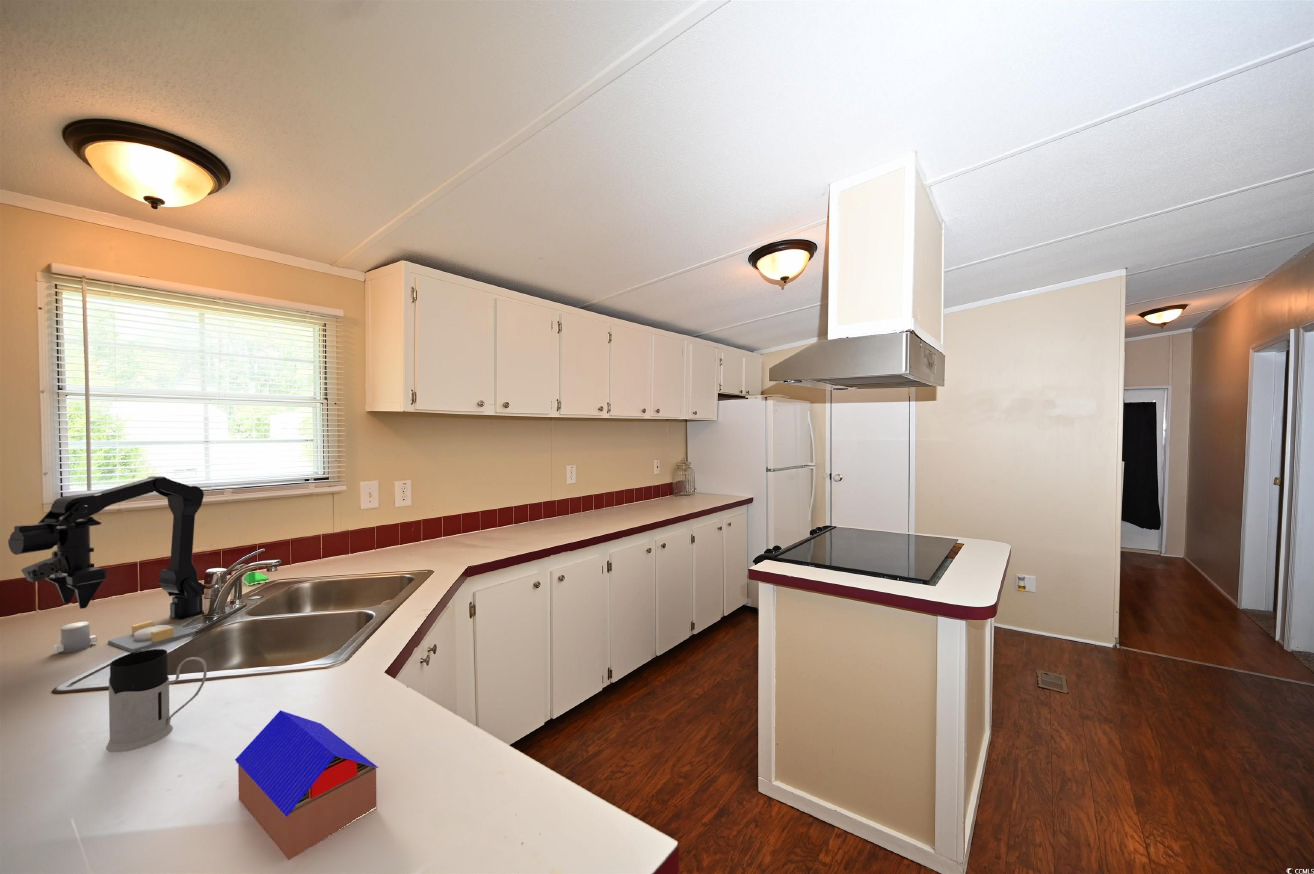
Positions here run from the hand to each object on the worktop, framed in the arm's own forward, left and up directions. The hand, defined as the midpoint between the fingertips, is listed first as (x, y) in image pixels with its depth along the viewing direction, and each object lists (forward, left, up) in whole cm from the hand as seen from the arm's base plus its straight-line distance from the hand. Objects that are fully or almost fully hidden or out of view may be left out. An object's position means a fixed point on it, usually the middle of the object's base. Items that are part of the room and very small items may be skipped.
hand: (75, 605), depth 133 cm
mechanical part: (-54, -24, -12) cm, 60 cm away
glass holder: (+10, +67, -12) cm, 69 cm away
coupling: (0, 0, -11) cm, 11 cm away
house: (+10, +111, -12) cm, 112 cm away
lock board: (-11, +10, -11) cm, 19 cm away
